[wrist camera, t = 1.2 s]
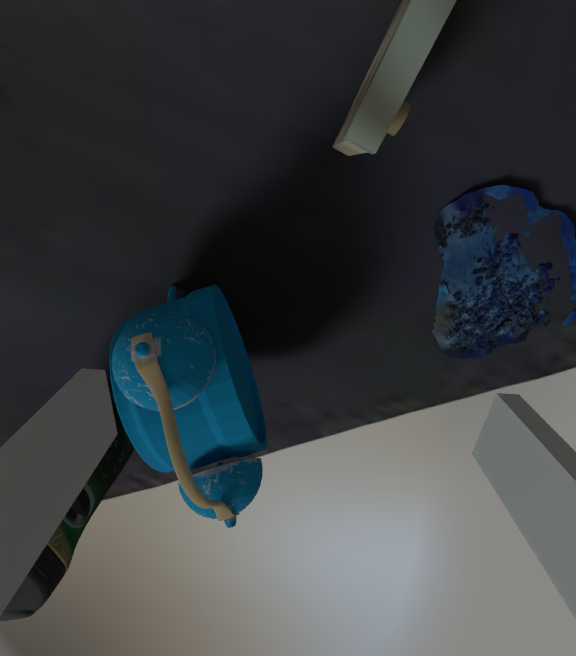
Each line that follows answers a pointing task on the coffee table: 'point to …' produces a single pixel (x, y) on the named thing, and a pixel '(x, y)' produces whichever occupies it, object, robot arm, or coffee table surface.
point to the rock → (489, 276)
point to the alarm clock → (191, 399)
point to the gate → (392, 76)
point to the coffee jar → (69, 532)
